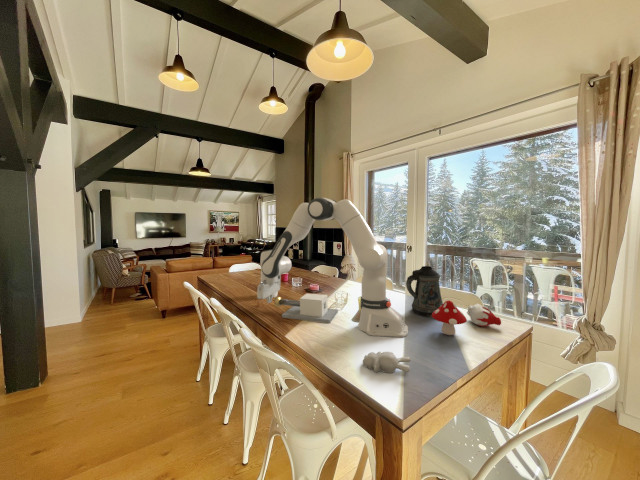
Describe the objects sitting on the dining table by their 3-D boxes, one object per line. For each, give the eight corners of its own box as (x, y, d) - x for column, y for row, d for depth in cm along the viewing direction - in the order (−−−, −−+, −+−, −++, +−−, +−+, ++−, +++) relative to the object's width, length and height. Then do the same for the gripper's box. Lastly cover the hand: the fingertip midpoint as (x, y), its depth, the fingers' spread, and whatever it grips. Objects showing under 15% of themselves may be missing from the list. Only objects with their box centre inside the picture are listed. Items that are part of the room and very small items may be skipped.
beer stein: (450, 313, 136) (451, 267, 135) (429, 321, 125) (430, 271, 124) (423, 305, 150) (423, 263, 148) (401, 312, 139) (402, 266, 137)
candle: (466, 316, 130) (501, 327, 120) (460, 322, 122) (497, 335, 112) (469, 299, 129) (505, 309, 119) (463, 304, 121) (501, 316, 111)
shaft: (308, 307, 139) (308, 298, 139) (305, 310, 134) (305, 301, 134) (279, 304, 145) (278, 295, 144) (274, 307, 140) (274, 298, 139)
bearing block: (337, 312, 140) (337, 294, 139) (329, 323, 125) (329, 303, 124) (294, 307, 148) (294, 290, 147) (281, 317, 133) (281, 298, 132)
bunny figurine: (366, 347, 92) (409, 349, 86) (367, 361, 92) (411, 364, 87) (360, 360, 83) (408, 364, 78) (362, 375, 83) (410, 380, 78)
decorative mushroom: (469, 343, 102) (470, 307, 101) (432, 338, 107) (432, 303, 106) (463, 330, 115) (464, 297, 114) (430, 326, 120) (430, 294, 119)
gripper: (264, 282, 132) (264, 309, 133) (282, 275, 151) (282, 297, 152) (253, 282, 134) (254, 307, 135) (272, 274, 153) (273, 297, 154)
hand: (269, 302), depth 144 cm, fingers closed
